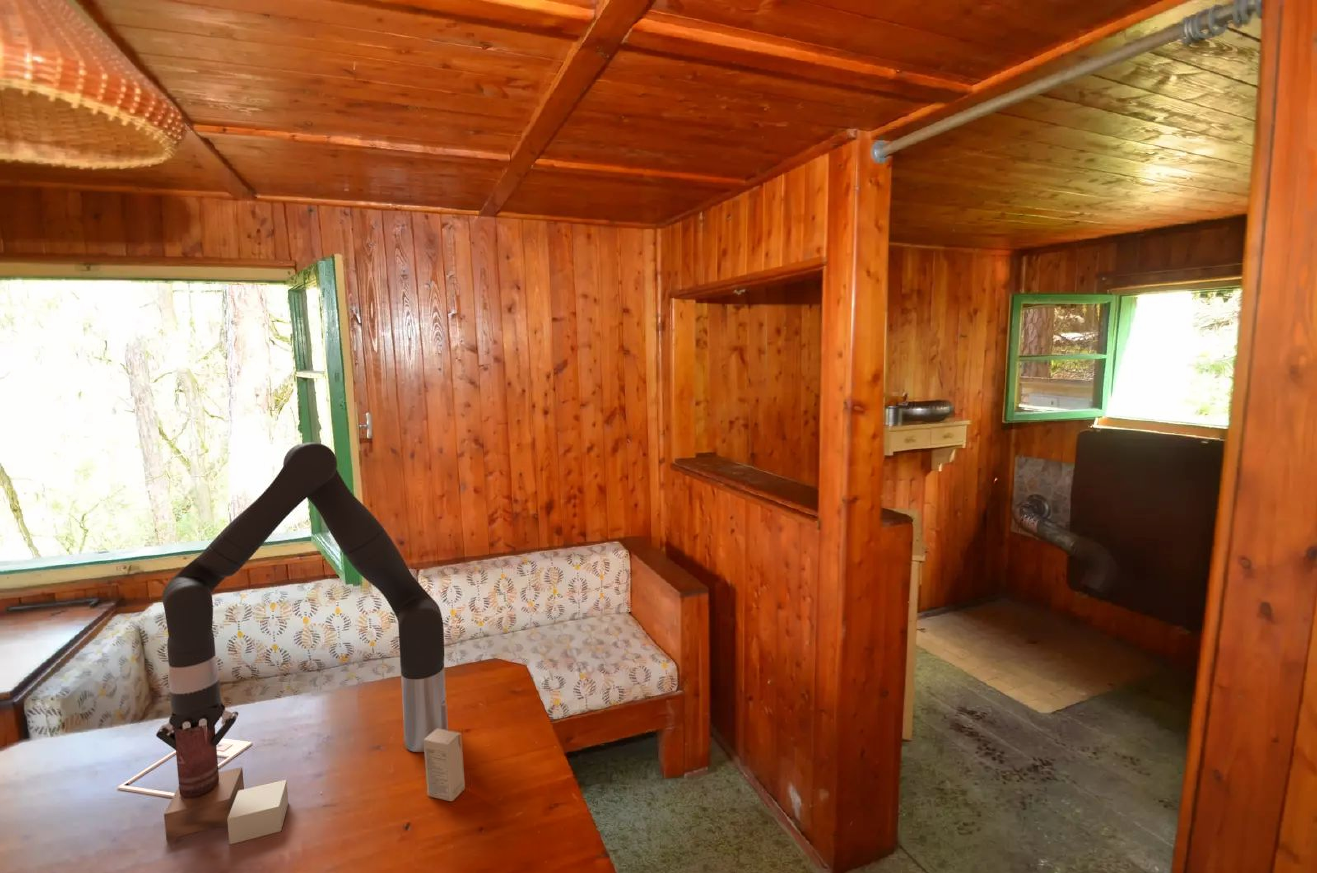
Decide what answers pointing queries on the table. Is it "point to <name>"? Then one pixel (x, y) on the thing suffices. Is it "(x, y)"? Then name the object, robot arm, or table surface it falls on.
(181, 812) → the walnut block
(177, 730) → the can
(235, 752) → the photo frame
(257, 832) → the cream block
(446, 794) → the skincare box
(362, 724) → the table surface
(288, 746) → the table surface
